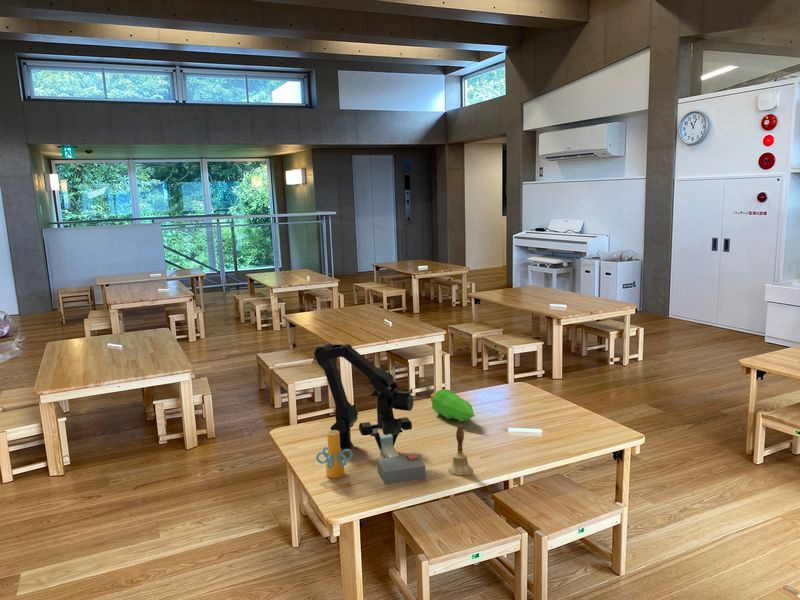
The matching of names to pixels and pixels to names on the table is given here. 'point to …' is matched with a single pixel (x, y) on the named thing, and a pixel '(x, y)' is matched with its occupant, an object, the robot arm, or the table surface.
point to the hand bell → (460, 457)
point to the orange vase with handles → (334, 455)
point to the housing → (400, 469)
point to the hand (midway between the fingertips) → (386, 448)
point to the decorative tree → (451, 405)
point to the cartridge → (387, 446)
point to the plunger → (411, 457)
